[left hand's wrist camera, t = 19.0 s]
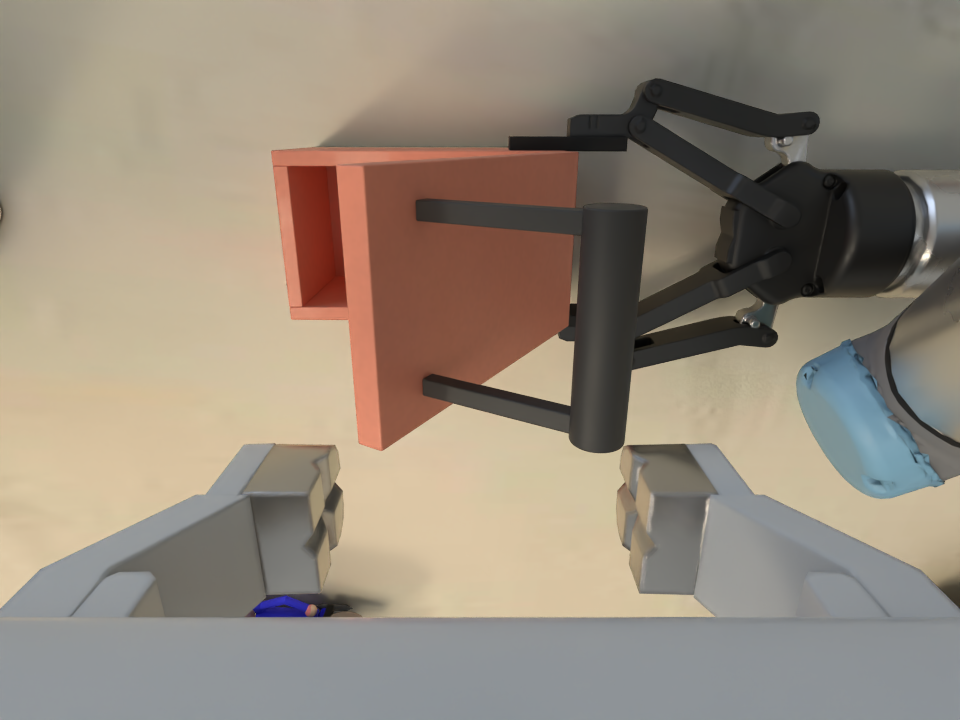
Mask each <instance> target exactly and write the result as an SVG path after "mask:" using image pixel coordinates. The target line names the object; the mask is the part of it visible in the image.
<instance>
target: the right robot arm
mask: <svg viewBox="0 0 960 720" xmlns="http://www.w3.org/2000/svg"><path fill="white" fill-rule="evenodd" d="M657 109H659V110H662V111H665V112H669V113H672V114H676V115H679V116H682V117H686V118H689V119H692V120H696V121H699V122H702V123H706V124H709V125H712V126H716V127H719V128H723V129H726V130H729V131H733V132H736V133H739V134H743V135H747V136H752V137H765V147H766V148H767V149H768V150H769V151H773V152H777V153H778V154H779V155H780V157H781V163H780V164H778V165H776V166H775V167H773V168H772V169H770V170H769V171H767V172H766V173H764V174H763V175H762V176H760V177H758V178H757V179H755V180H754V181H752V180H751V179H749V178H748V177H746V176H744V175H742V174H739V173H737V172H736V171H734V170H732V169H731V168H729V167H727V166H726V165H724V164H723V163H721V162H719V161H718V160H716V159H715V158H713V157H711V156H710V155H708V154H707V153H705V152H703V151H702V150H700V149H699V148H697V147H695V146H694V145H692V144H691V143H689V142H687V141H686V140H684V139H683V138H681V137H679V136H678V135H676V134H675V133H673V132H671V131H670V130H668V129H667V128H665V127H663V126H662V125H660V124H659V123H657V122H655V121H654V120H653V118H654V116H655V114H656V111H657ZM819 123H820V119H819V116H818V115H817V114H816V113H815V112H798V113H785V114H775V113H772V112H768V111H765V110H762V109H759V108H755V107H752V106H749V105H745V104H742V103H739V102H735V101H732V100H729V99H725V98H722V97H719V96H716V95H712V94H709V93H706V92H702V91H699V90H696V89H692V88H689V87H686V86H682V85H679V84H676V83H673V82H669V81H666V80H663V79H657V78H655V79H652V80H649V81H646V82H644V83H641V84H640V85H639V86H638V87H637V88H636V90H635V97H634V99H633V101H632V104H631V106H630V108H629V109H628V110H627V111H626V112H625V113H624V114H621V115H576V116H574V117H571V118H569V119H568V123H567V137H529V136H509V150H511V151H627V141H628V138H629V139H630V140H632V141H633V142H635V143H637V144H638V145H640V146H642V147H643V148H645V149H646V150H648V151H650V152H651V153H653V154H655V155H656V156H658V157H660V158H661V159H663V160H664V161H666V162H668V163H669V164H671V165H673V166H674V167H676V168H677V169H679V170H681V171H682V172H684V173H686V174H687V175H689V176H690V177H692V178H694V179H695V180H697V181H699V182H700V183H702V184H704V185H705V186H707V187H708V188H710V189H711V190H712V191H713V192H715V193H717V194H718V195H720V196H721V197H723V198H725V199H726V200H728V202H727V203H726V205H725V206H722V208H721V215H720V224H721V234H720V237H719V239H718V242H717V244H716V250H715V257H716V258H718V260H716V261H714V262H712V263H710V264H708V265H706V266H704V267H702V268H701V269H700V270H699V272H698V273H696V274H694V275H692V276H690V277H688V278H686V279H684V280H682V281H680V282H678V283H676V284H674V285H672V286H670V287H668V288H666V289H664V290H662V291H660V292H657V293H655V294H653V295H651V296H649V297H647V298H645V299H643V300H641V301H639V302H638V312H637V322H636V332H635V342H634V352H633V362H632V370H634V369H638V368H643V367H647V366H651V365H656V364H660V363H664V362H669V361H673V360H677V359H681V358H686V357H690V356H694V355H699V354H703V353H707V352H711V351H716V350H720V349H724V348H729V347H733V346H737V345H745V346H755V347H771V346H773V345H774V344H775V343H776V342H777V340H778V335H777V332H775V331H774V330H773V329H772V326H773V323H774V319H775V316H776V312H777V309H778V305H779V304H783V303H785V302H787V301H789V300H791V299H794V298H798V297H856V298H864V297H871V296H874V295H875V296H877V297H882V298H917V299H916V300H915V301H914V302H912V303H911V304H910V305H909V306H908V307H907V308H906V309H905V310H904V311H902V312H901V313H900V314H899V315H898V316H897V317H895V318H894V319H893V320H892V321H891V322H890V323H889V324H888V325H886V326H884V327H882V328H881V329H879V330H877V331H875V332H873V333H870V334H868V335H865V336H863V337H860V338H858V339H855V340H853V341H851V340H850V339H848V340H846V341H843V342H842V343H841V345H840V346H839V347H837V348H835V349H833V350H831V351H829V352H827V353H825V354H823V355H821V356H819V357H817V358H815V359H813V360H811V361H809V362H807V363H806V364H805V365H804V366H802V368H801V369H800V371H799V373H798V375H797V380H796V387H797V396H798V401H799V404H800V407H801V410H802V412H803V415H804V417H805V420H806V422H807V424H808V426H809V428H810V430H811V432H812V434H813V435H814V437H815V439H816V441H817V442H818V444H819V446H820V447H821V449H822V450H823V452H824V454H825V455H826V457H827V458H828V459H829V461H830V462H831V463H832V465H833V466H834V467H835V469H836V470H837V471H838V472H839V473H840V475H841V476H842V477H843V478H844V479H845V480H846V481H847V482H848V483H850V484H851V485H852V486H853V487H854V488H856V489H857V490H859V491H860V492H862V493H863V494H865V495H868V496H870V497H874V498H878V499H886V498H893V497H896V496H899V495H903V494H906V493H909V492H912V491H915V490H918V489H921V488H925V487H928V486H933V487H938V486H940V485H943V484H945V483H944V482H945V480H947V479H950V478H953V477H956V476H958V475H960V170H898V171H895V172H891V171H888V170H820V169H817V168H815V167H814V166H812V165H811V164H809V163H807V162H806V157H807V147H808V138H809V135H810V134H812V133H814V132H815V131H816V130H817V128H818V127H819ZM744 289H746V290H748V291H749V292H750V293H751V294H753V295H754V296H755V297H756V298H757V301H756V303H755V304H754V305H753V306H751V307H749V308H743V309H741V310H738V311H737V313H736V316H725V317H718V318H713V319H709V320H705V321H701V322H697V323H692V324H688V325H684V326H680V327H676V328H671V329H667V330H663V331H659V332H655V333H651V334H646V335H643V334H645V333H647V332H649V331H651V330H653V329H655V328H657V327H660V326H662V325H664V324H666V323H668V322H670V321H672V320H674V319H676V318H678V317H680V316H682V315H684V314H686V313H688V312H691V311H693V310H695V309H697V308H699V307H701V306H703V305H705V304H707V303H709V302H711V301H713V300H715V299H718V298H725V297H729V296H731V295H733V294H735V293H737V292H739V291H741V290H744ZM576 313H577V304H570V309H569V325H568V326H567V327H566V328H564V329H563V330H562V331H560V332H559V333H558V336H559V338H560V339H563V340H565V341H575V329H576ZM641 335H642V336H641Z"/></svg>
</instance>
